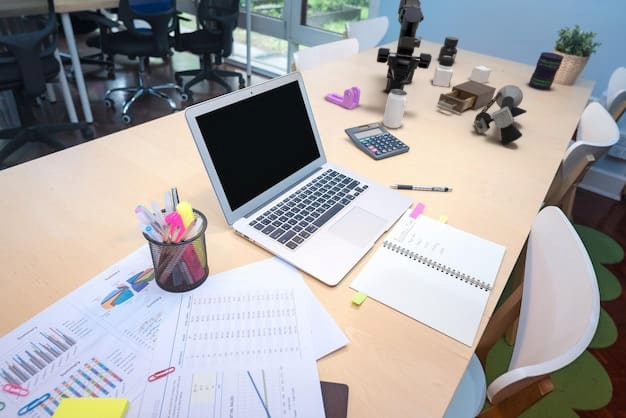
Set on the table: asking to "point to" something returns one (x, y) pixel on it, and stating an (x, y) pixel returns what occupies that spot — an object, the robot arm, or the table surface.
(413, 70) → the pen holder
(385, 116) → the can
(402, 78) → the robot arm
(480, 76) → the white cube
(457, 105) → the drawer
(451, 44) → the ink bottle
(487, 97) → the organizer
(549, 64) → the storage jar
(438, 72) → the medicine bottle
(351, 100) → the bracket
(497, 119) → the abstract shape sculpture
